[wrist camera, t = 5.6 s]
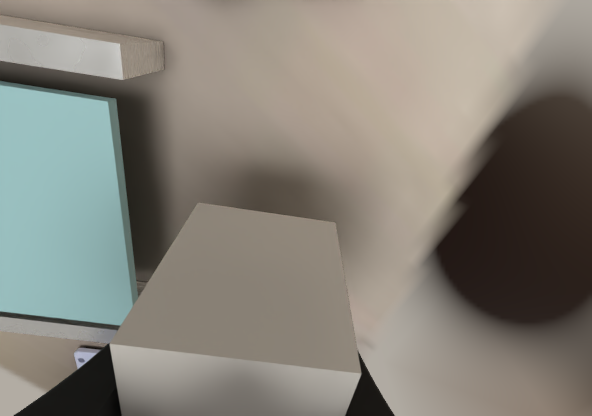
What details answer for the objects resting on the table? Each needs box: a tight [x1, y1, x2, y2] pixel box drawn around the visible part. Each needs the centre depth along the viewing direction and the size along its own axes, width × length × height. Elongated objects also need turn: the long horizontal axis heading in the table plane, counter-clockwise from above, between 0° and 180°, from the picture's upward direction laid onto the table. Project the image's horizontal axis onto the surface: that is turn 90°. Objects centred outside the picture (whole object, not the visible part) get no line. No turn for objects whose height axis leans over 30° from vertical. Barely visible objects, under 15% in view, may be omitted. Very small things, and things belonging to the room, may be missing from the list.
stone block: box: [110, 203, 361, 416], centre depth 11 cm, size 7×5×6 cm
